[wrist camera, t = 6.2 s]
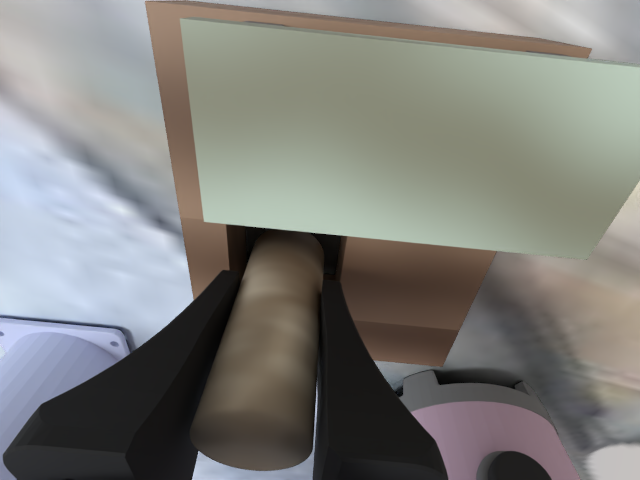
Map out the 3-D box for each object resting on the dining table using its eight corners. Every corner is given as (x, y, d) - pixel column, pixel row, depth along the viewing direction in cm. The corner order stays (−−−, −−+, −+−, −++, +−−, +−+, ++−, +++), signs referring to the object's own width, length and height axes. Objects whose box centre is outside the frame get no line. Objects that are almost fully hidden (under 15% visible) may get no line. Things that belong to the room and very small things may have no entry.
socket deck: (429, 321, 20) (467, 458, 14) (218, 300, 20) (166, 430, 14) (539, 38, 12) (738, 78, 6) (185, 0, 12) (29, 2, 6)
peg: (331, 234, 15) (325, 421, 8) (316, 288, 17) (300, 477, 10) (256, 219, 15) (189, 399, 8) (249, 276, 16) (189, 461, 10)
